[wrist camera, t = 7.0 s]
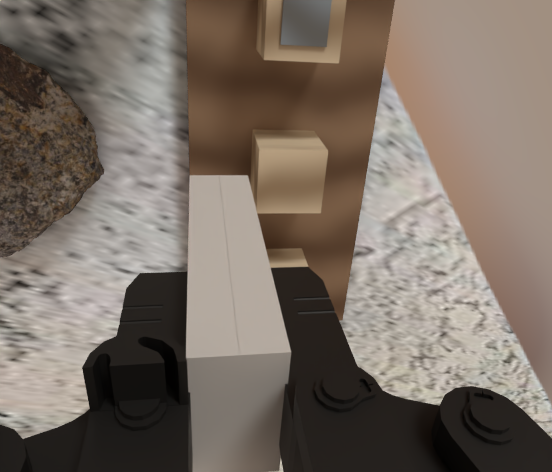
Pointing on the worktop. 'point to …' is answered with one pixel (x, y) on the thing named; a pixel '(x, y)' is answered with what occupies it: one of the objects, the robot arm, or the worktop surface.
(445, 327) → the worktop surface
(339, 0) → the marked block 2
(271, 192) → the plain beech block
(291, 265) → the marked block 1
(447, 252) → the worktop surface
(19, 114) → the rock
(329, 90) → the walnut board
